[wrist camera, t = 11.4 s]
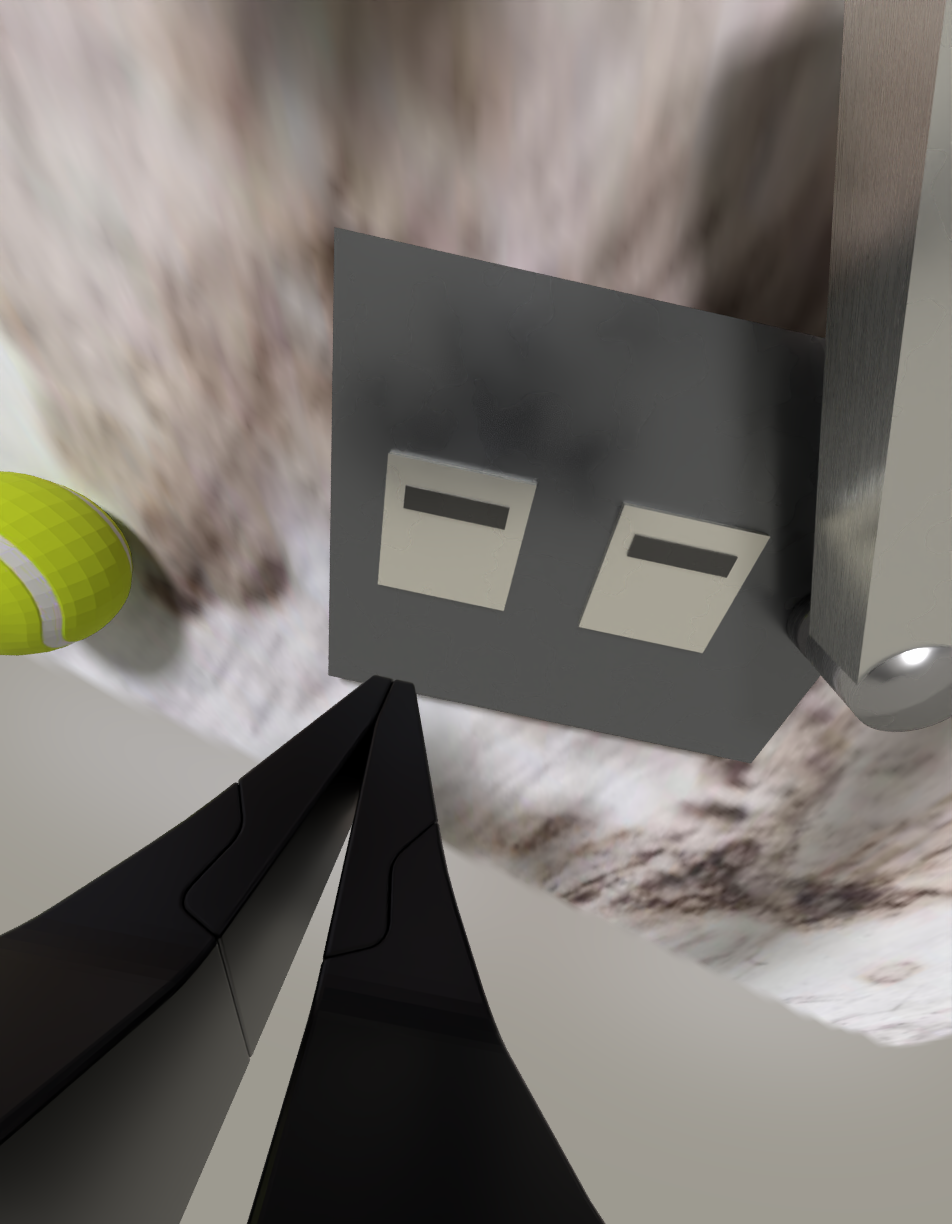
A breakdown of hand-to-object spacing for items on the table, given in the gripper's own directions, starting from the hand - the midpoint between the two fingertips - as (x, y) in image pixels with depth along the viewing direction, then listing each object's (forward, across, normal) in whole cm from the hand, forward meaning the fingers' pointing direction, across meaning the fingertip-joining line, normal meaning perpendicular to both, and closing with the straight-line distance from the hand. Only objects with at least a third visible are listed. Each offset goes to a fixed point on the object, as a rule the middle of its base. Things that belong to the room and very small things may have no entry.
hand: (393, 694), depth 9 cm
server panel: (+10, -6, 0) cm, 11 cm away
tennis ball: (+10, +16, +4) cm, 19 cm away
